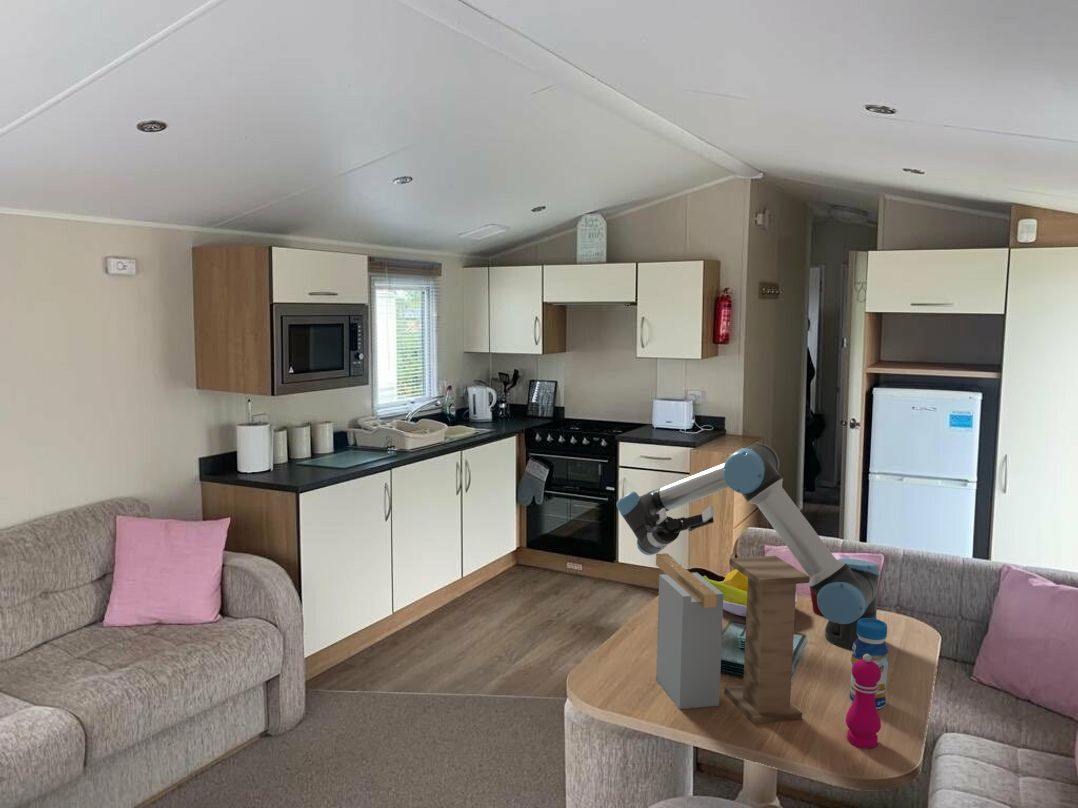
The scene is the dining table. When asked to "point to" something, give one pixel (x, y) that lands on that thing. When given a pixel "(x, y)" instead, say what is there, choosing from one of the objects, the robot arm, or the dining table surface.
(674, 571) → the wooden bar
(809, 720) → the dining table surface
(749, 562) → the walnut stand
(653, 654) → the dining table surface
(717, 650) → the block
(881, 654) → the beverage bottle
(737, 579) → the fruit bowl
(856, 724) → the pepper mill
